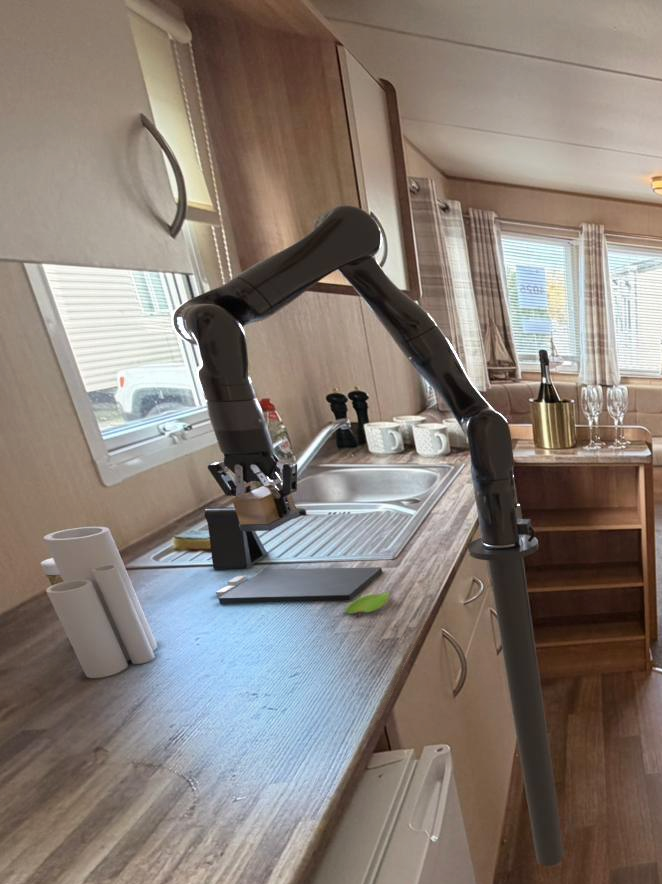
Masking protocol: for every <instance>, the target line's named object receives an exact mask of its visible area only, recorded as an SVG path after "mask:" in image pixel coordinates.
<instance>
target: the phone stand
mask: <svg viewBox="0 0 662 884" xmlns="http://www.w3.org/2000/svg"><path fill="white" fill-rule="evenodd" d="M204 518H205V520H206V523H207V528H208V536H209V544H210V553H211V560H212V568H213V570H233V569H248V568H250V567H252V566H254V565H255V564H256V563H258V561H260V560H261V559H263V558H264V557H266V556H267V555H268V551H267V550H266V548H265V545H263V543H262V540H261V539H260V538H259V535H258V534H257V531H240V528H239V525H240V522H239V519H238V516H237V513H236V510H235V507H234V506H233V507H232V506H230V507H228V506H227V507H208V508H206V509H205V510H204Z"/></svg>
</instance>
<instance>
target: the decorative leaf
mask: <svg viewBox="0 0 662 884" xmlns="http://www.w3.org/2000/svg"><path fill="white" fill-rule="evenodd" d="M389 598H390V592H385V593H373V594H367V595H364V596H362V597H359V598H357V599H356V600H354V601H353V602H352V603H350V604H349V606H347V608H346V612H347V613H348V614H350V615H353V614H354V615H355V614H358V615H357V616H356V617H357V618H359V617H360V616H361V614H362V613H366V614H367V613H371V612H374V611H377V610H379V609H380V608H382V607H383V606H384V605H385V604H387V602H388V600H389Z"/></svg>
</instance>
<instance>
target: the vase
mask: <svg viewBox="0 0 662 884" xmlns="http://www.w3.org/2000/svg"><path fill="white" fill-rule="evenodd" d="M43 540H44V542H45V544H46V546H47V549H48V551H49V553H50V555H51V558H53V560H54V562H55V564H56V566H57V568H58V571H59V573H60V575H61V577H62V579H63V581H64V582H62V583H58V584H55V585H50V586H49V587H47V588H45V592H46V594H47V596H48V598H49V600H50V602H51V604H52V607H53V609H54V611H55V613H56V616H57V617H58V619H59V621H60V624H61V626H62V629H63V630H64V632H65V634H66V636H67V638H68V640H69V643H70V645H71V647H72V649H73V651H74V653H75V655H76V658H77V659H78V662H79V664H80V667H81V668H82V670H83V673H84V675H85V676H86V678H90V679H100V678H106V677H109V676H113V675H116V674H118V673H121V672H123V671H124V670H126V669H127V668H128V667H129V663H128V661H130V662H131V664H133V665H138V664H145V663H148V662H150V661H152V660H154V659H155V657H156V656H155V653H154V652H155V650H157V649H158V643H157V641H156V639H155V637H154V634H153V632H152V630H151V627H150V625H149V622H148V620H147V617H146V614H145V612H144V610H143V608H142V605H141V603H140V600H139V598H138V595H137V593H136V591H135V589H134V586H133V584H132V580H131V577H130V575H129V573H128V571H127V568H126V566H125V563H124V561H123V559H122V557H121V554H120V552H119V549H118V547H117V544H116V541H115V539H114V537H113V535H112V533H111V530H110V528H109V527H105V526H82V527H73V528H68V529H62V530H58V531H54V532H50V533H48V534H46V535H44V536H43Z"/></svg>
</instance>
